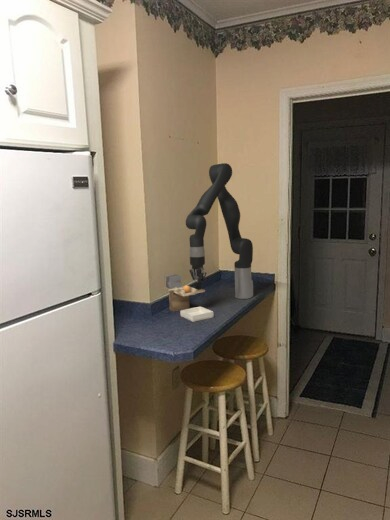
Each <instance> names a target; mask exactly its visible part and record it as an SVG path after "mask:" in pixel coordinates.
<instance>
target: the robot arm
mask: <svg viewBox="0 0 390 520" xmlns="http://www.w3.org/2000/svg"><path fill="white" fill-rule="evenodd" d="M232 175H233V168H232V166H231V165H230V164H229V163H225V162H224V163H218V164H213V165H211V166H210V167H209V170H208V176H209V180H210V181H211V184H212V185H210V186H209V187H208V189H207V190H206V191H205V192H203V194H202V195H201V196H200V199H199V200H198V202H197V204H196V206H195V207H194V208H193V209H192V210H191V211H190V212H189V214H188V215H187V216H186V219H185V226H186V228H187V229H189V230H195V232H194V233H192V234H190V235H189V265H190V266H191V269H189V274H190V275H191V278H192V280H193V281H194V282H195V289H198V290H199V289H202V282H204V281H205V278H206V275H207V272H205V271H204V270H205V268H204V265H205V264H206V257H205V255H206V254H205V243H204V242H205V241H204V240H205V238H204V237H205V233H206V228H207V219H206V218H205V217H204V216H206V215H208V214H209V213H210V211H211V209H212V207H213V205H214V203H215V201H216V200H218V203H219V206H220V209H221V210H220V211H221V214H222V217H223V219H224V222H225V226H226V229H227V234H228V239H229V244H230V248H231V251H232V253H234V254H236V255H238V260H235V262H234V265H233V266H234V296H235V298H236V299H239V300H246V299H251V298H252V297H254V281H253V279H252V262H253V260H254V258H253V256H254V255H253V254H254V247H253V242H252V241H251V240H250V239H249V238H245V237H244V238H243V237H242V235H241V232H240V228H239V226H240V222H241V210H240V206H239V204H238V202H237V200H236V199H235V197H233V195H232V194H231V193H230V192H229V190H228V189H227V187H226V185H227V184H228V183H229V181H230V180H231V179H232V177H233V176H232Z"/></svg>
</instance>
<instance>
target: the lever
mask: <svg viewBox="0 0 390 520" xmlns="http://www.w3.org/2000/svg"><path fill="white" fill-rule="evenodd" d="M165 278H166V289H165V290H166V291H168V292H169V290H172V291H173V293H176V294H179V295H181V296H189V297H190V296H194V295H197V294H199V293H205V292H206V289H204V288H201V289H199V290H198V289H196V287H192V286H189V287H190V291H189V292H185V291H184V290H183V287H184V286H182V276H181V275H179V274H175V273H174V274H169V275H164V279H165Z"/></svg>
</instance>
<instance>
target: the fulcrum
mask: <svg viewBox="0 0 390 520" xmlns="http://www.w3.org/2000/svg"><path fill="white" fill-rule="evenodd" d="M168 292H169V293H168V300H169V301H168V302H169V310H170V311H171V312H173V313H174V312H177V311H179V312H180V311H181V310H186V309H190V308H191V307H190V295H189V296H181V295H179V294H176V293H174V292H173V291H172V290H169V291H168Z"/></svg>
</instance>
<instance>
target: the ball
mask: <svg viewBox="0 0 390 520" xmlns="http://www.w3.org/2000/svg"><path fill="white" fill-rule="evenodd" d="M182 287H183V290H184V291H185V292H189V291H190V287H191V286H189V285H187V284H185V285H184V286H182Z"/></svg>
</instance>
